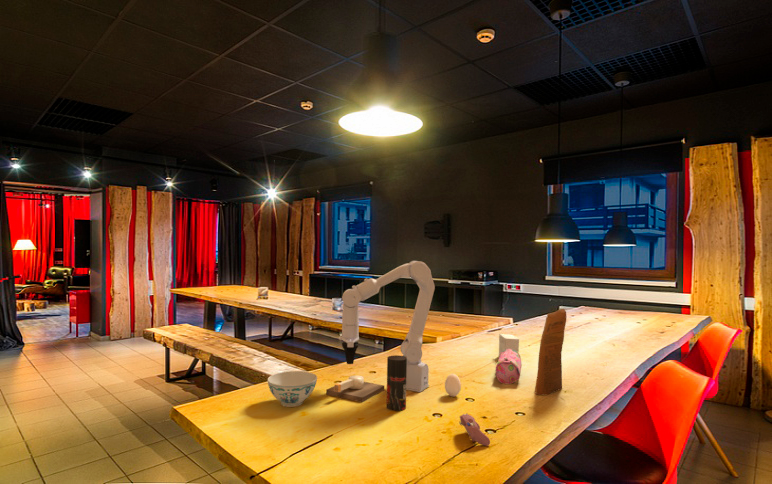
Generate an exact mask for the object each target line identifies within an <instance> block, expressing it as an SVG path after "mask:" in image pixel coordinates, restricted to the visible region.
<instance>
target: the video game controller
mask: <svg viewBox="0 0 772 484" xmlns="http://www.w3.org/2000/svg"><path fill="white" fill-rule="evenodd" d="M459 418H460V419H459V421H458V422H459V425H460V426H463V427H464V428H465V431H466V433H467V435H468V438H469V440H471V441H472V442H473V443H474V442H476V443H477V444H479V445H481V446H484V447H488V446H490V444H491V441H490V438H489V437H488V436H487V435H486V434H485V433H484V432H482V430H481V427H480V424H479V423H478V422H477V421H476V419H475V417H474V416H472V415H470V414H469V413H463V414H462V415H460V416H459Z"/></svg>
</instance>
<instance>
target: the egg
mask: <svg viewBox="0 0 772 484" xmlns="http://www.w3.org/2000/svg"><path fill="white" fill-rule="evenodd" d="M444 389H445V392H446V393H447V394H448V396H450V397H456V396H458V395H459V394H460V391H461V389H462V383H461V380H460V378H459V376H458V375H457V374H455V373H449V374H448V376H447V377H446V379H445V381H444Z"/></svg>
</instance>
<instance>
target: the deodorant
mask: <svg viewBox="0 0 772 484" xmlns="http://www.w3.org/2000/svg"><path fill="white" fill-rule="evenodd" d="M386 362H387V363H386V365H387V366H386V368H387V369H386V409H388V411H393V412H399V411H405V410H406V409H407V390H406V377H407V358H406V357H404V356H403V355H389V356H387V361H386Z"/></svg>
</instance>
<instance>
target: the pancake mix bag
mask: <svg viewBox="0 0 772 484" xmlns="http://www.w3.org/2000/svg"><path fill="white" fill-rule="evenodd" d="M546 315H547V316H546V317H545V323H544V327H543V331H542V334H541V339H540V342H539V343H540V344H539V352H538V359H537V361H538V362H537V374H536V380H535V386H534V393H535V395H539V396H548V395H551V394H552V393H556V391H560V390H562V389H563V372H562V371H563V369H562V368H563V365H562V364H563V363H562V351H563V345H564V340H565V331H566V329H565V328H566V324H567V311H566V310H565V308H560V309H557V310H555V311H554V312H549V313H547V314H546Z"/></svg>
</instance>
